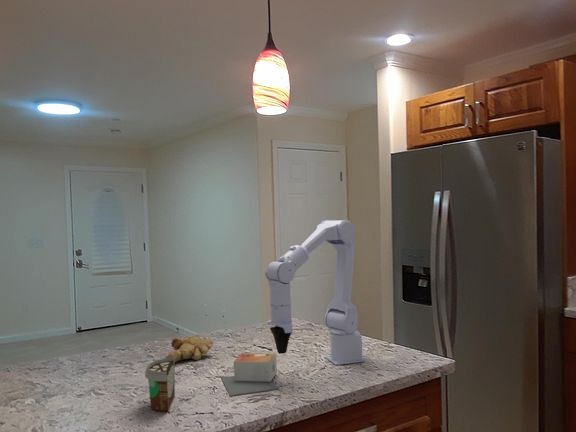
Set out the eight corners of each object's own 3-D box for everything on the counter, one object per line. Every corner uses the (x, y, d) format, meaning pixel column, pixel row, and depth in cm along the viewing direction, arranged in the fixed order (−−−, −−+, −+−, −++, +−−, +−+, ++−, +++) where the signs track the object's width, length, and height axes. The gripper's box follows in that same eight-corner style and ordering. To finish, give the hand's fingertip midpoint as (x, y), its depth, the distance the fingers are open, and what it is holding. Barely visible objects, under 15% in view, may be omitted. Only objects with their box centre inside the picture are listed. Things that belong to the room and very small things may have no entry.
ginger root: (209, 343, 166) (208, 323, 164) (216, 367, 151) (216, 345, 149) (163, 350, 161) (162, 329, 159) (167, 375, 146) (165, 352, 144)
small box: (270, 361, 128) (233, 361, 130) (270, 382, 128) (234, 381, 130) (276, 353, 136) (241, 352, 138) (277, 372, 136) (242, 371, 138)
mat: (265, 372, 137) (265, 371, 137) (278, 389, 124) (278, 388, 124) (221, 378, 133) (221, 377, 133) (230, 396, 120) (230, 395, 120)
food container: (151, 396, 122) (150, 358, 122) (175, 395, 122) (174, 356, 122) (140, 416, 109) (139, 374, 109) (167, 415, 110) (166, 372, 110)
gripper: (260, 301, 137) (261, 347, 137) (273, 310, 123) (275, 362, 123) (283, 299, 139) (284, 345, 139) (299, 308, 125) (300, 358, 126)
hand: (281, 352), depth 132 cm, fingers closed
